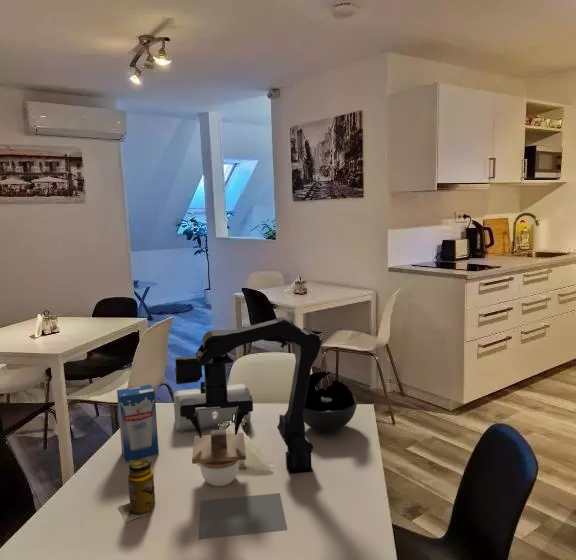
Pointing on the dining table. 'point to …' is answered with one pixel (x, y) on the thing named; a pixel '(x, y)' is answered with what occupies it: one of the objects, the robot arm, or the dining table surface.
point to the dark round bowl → (328, 405)
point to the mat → (241, 516)
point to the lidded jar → (219, 472)
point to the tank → (207, 416)
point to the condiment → (139, 490)
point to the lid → (218, 447)
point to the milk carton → (138, 422)
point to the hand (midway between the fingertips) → (218, 435)
